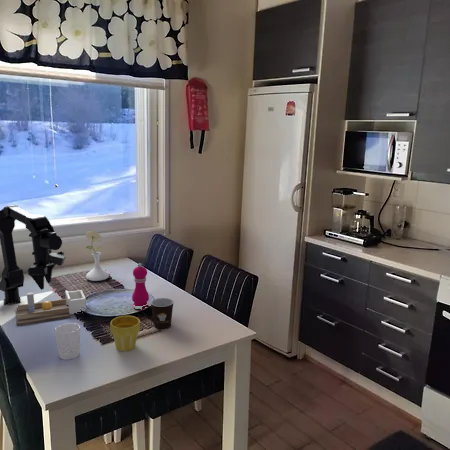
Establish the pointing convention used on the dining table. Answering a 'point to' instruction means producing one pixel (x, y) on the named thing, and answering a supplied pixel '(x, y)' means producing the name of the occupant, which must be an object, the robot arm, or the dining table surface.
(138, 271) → the pepper mill
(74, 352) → the white cup
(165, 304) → the coffee mug
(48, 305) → the ball
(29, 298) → the striker
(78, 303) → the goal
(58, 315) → the board
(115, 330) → the plant pot
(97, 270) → the flower in vase
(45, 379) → the dining table surface
